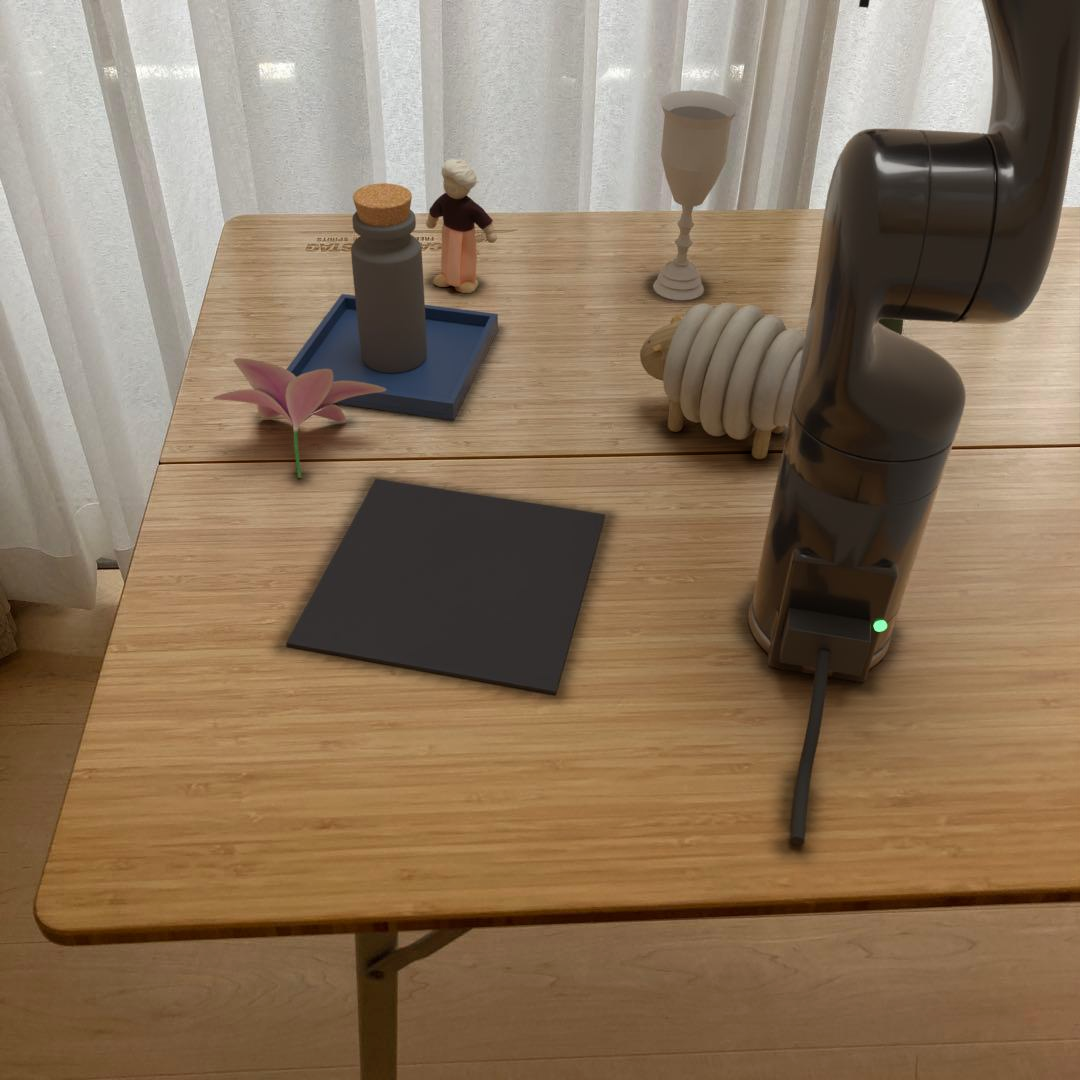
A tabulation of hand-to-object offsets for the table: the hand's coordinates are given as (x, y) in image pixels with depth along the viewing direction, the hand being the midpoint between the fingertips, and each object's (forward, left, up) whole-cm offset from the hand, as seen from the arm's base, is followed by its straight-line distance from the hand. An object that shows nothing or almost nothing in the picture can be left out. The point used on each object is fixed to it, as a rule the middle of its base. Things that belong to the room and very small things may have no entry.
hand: (808, 0), depth 88 cm
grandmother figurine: (-1, +29, -29) cm, 41 cm away
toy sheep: (-20, +1, -29) cm, 35 cm away
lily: (-30, +34, -29) cm, 54 cm away
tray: (-16, +31, -28) cm, 45 cm away
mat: (-42, +18, -28) cm, 54 cm away
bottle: (-16, +31, -28) cm, 45 cm away
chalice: (+4, +8, -29) cm, 30 cm away
